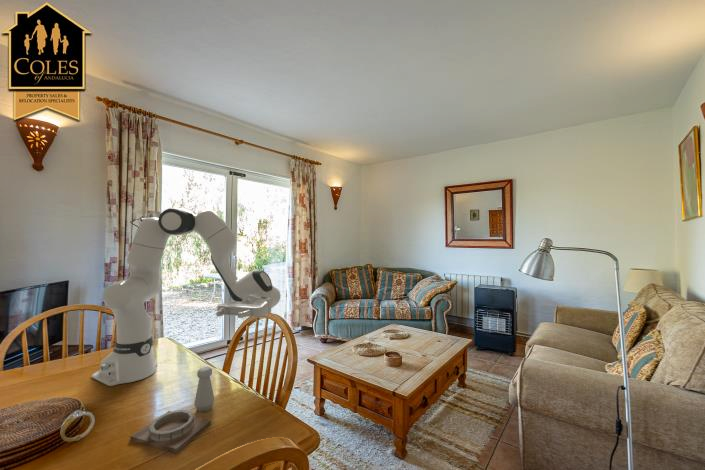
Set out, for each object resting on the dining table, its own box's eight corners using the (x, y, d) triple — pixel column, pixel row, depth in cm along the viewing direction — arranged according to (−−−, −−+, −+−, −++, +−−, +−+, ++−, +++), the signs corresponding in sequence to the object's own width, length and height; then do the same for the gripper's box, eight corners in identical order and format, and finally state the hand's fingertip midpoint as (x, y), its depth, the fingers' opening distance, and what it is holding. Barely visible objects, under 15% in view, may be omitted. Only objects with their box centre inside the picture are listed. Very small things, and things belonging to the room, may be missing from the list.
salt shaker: (200, 416, 92) (201, 374, 92) (190, 410, 95) (190, 369, 95) (218, 406, 97) (218, 367, 97) (207, 401, 100) (208, 363, 100)
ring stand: (130, 440, 81) (130, 428, 81) (169, 414, 92) (169, 404, 92) (176, 453, 76) (176, 441, 76) (210, 424, 88) (210, 413, 88)
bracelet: (61, 449, 77) (61, 419, 77) (59, 444, 79) (59, 414, 79) (96, 435, 83) (96, 406, 83) (92, 430, 85) (92, 402, 85)
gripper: (231, 296, 123) (205, 305, 110) (273, 298, 117) (251, 307, 103) (232, 311, 123) (206, 321, 110) (274, 314, 117) (252, 325, 104)
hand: (228, 315), depth 107 cm, fingers open, 8 cm apart
